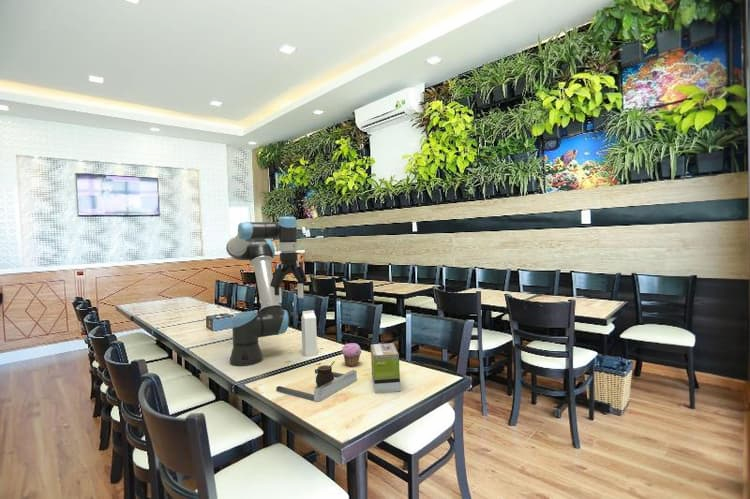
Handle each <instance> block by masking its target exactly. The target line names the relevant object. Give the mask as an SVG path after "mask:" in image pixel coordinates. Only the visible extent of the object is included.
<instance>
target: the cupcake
mask: <svg viewBox="0 0 750 499" xmlns="http://www.w3.org/2000/svg"><path fill="white" fill-rule="evenodd" d="M341 354H342V355H343V360H344V364H345V365H346V366H349V367H355V366H356V365H358V363H359V361H360V356H361V354H362V349H361V346H360V345H359V344H358V343H355V342H353V343H352V342H350V343H346V344H344V345H343V346H342V349H341Z"/></svg>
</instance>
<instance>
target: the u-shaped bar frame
mask: <svg viewBox="0 0 750 499" xmlns="http://www.w3.org/2000/svg"><path fill="white" fill-rule="evenodd" d="M314 374H316V375H317V374H318V368H316V369H314ZM332 374H333V376H334V380H332V381H330V382H328V383H326V384H324V385H322V386H321V387H317V388H314V390H313V394H312V393H310V392H304V391H302V390H301V391H300V390H296V389H293V388H288V387H285V386H281V385H279V386H276V387H275V388H276V389H275V390H276V392H279V393H283V394H286V395H290V396H294V397H298V398H302V399H305V400H309V401H312V402H313V401H314V402H316V403H319V402H321V401H323V400H324V399H326V398H328V397H330V396H332V395H333V394H335V393H337V392H338V391H341V390H342V389H343V388H345V387H347V386H349V385H351V384H353V383H354V382H356V381H357V380H358V378H357V370H354V369H351V370H349V371H347V372H345V373H340V372H335V371H332Z"/></svg>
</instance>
